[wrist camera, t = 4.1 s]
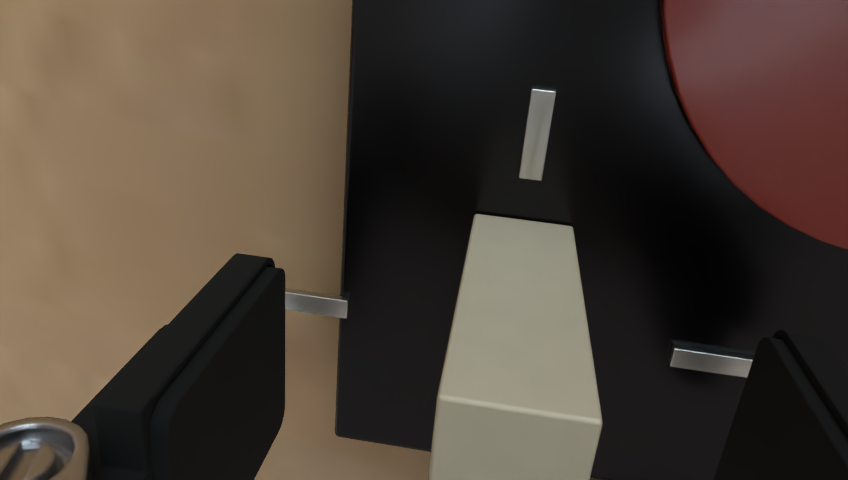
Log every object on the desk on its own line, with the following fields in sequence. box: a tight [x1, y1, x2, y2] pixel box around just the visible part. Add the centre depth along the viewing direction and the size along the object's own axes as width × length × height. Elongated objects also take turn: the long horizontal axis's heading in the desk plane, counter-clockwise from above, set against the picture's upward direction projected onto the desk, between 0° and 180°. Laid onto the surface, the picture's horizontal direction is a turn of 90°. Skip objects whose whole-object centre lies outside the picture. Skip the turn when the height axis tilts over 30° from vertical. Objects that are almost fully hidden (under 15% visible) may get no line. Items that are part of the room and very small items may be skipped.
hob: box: [285, 0, 848, 480], centre depth 11 cm, size 15×14×3 cm
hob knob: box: [428, 214, 603, 480], centre depth 10 cm, size 4×2×5 cm, turn 175°
